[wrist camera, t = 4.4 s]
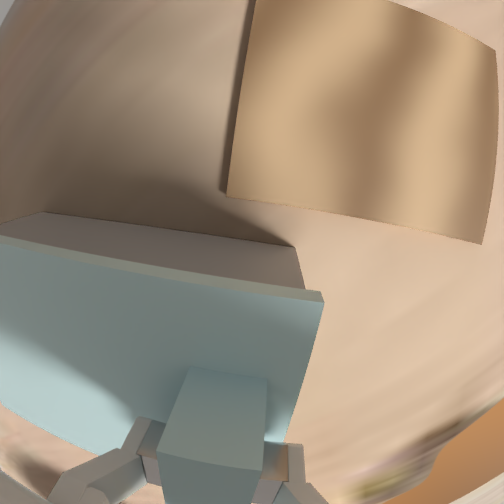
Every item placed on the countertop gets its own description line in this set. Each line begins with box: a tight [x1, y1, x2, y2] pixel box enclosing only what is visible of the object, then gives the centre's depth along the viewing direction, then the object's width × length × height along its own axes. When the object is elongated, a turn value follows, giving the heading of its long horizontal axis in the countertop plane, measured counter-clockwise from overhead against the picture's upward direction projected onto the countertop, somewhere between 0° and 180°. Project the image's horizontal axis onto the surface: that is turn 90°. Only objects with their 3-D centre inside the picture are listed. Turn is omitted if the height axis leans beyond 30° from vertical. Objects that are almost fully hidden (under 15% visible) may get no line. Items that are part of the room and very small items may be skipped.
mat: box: [226, 0, 499, 245], centre depth 12 cm, size 14×12×1 cm
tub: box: [0, 212, 305, 289], centre depth 13 cm, size 15×10×6 cm, turn 82°
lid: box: [0, 235, 324, 504], centre depth 8 cm, size 16×11×4 cm
